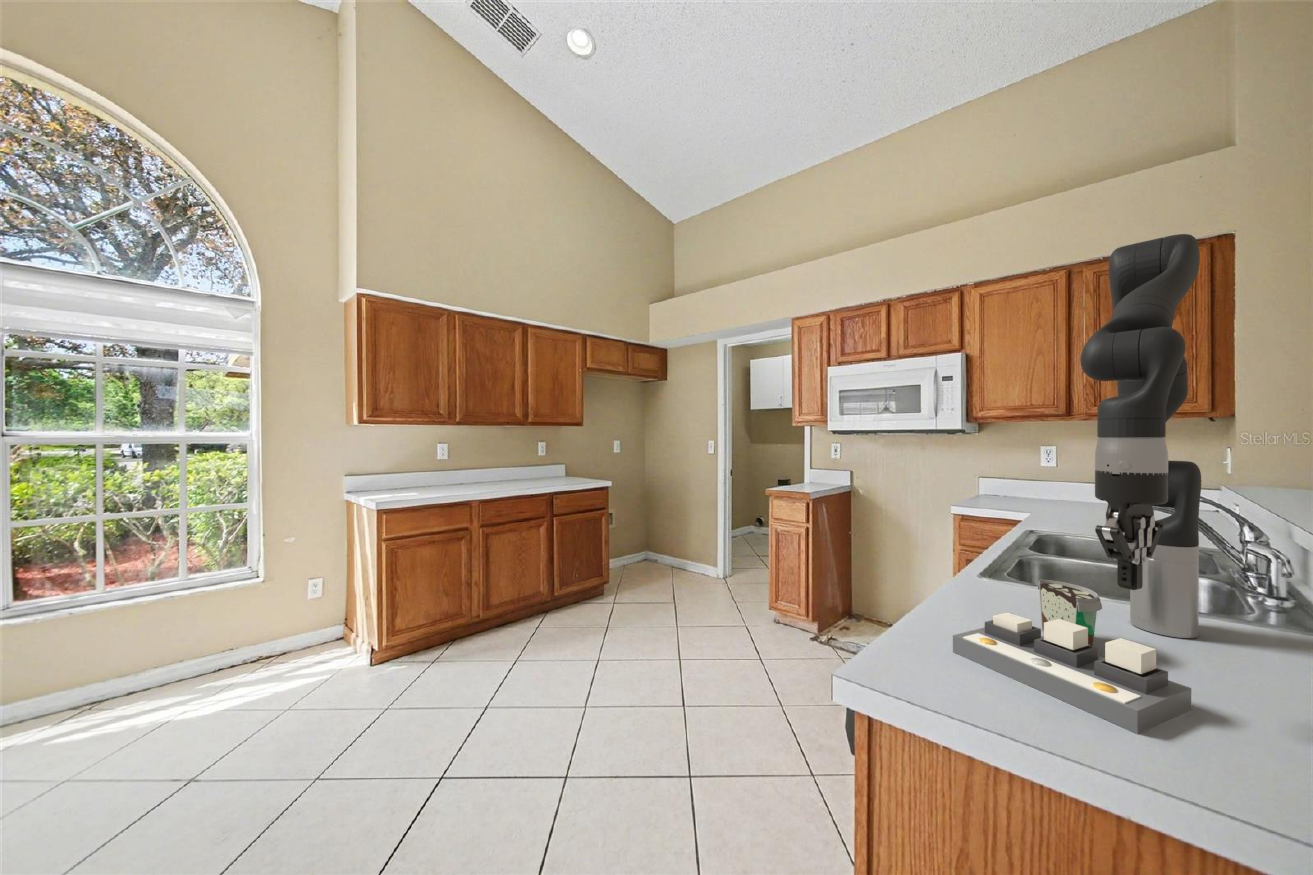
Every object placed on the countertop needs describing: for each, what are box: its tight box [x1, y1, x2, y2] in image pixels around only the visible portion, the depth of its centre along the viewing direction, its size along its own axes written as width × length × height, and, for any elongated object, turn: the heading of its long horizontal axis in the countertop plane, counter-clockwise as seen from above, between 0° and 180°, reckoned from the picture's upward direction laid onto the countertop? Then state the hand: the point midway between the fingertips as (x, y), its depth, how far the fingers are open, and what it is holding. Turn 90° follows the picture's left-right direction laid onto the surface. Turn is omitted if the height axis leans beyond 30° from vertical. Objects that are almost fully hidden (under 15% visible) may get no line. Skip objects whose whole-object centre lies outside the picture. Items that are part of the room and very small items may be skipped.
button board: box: [952, 619, 1192, 735], centre depth 76 cm, size 14×25×5 cm, turn 22°
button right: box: [1104, 637, 1157, 674], centre depth 69 cm, size 4×4×3 cm
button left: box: [992, 612, 1033, 633], centre depth 84 cm, size 4×4×3 cm
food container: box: [1037, 579, 1103, 647], centre depth 88 cm, size 12×6×10 cm, turn 168°
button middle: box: [1043, 619, 1088, 650], centre depth 76 cm, size 4×4×3 cm
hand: (1129, 588), depth 69 cm, fingers closed
